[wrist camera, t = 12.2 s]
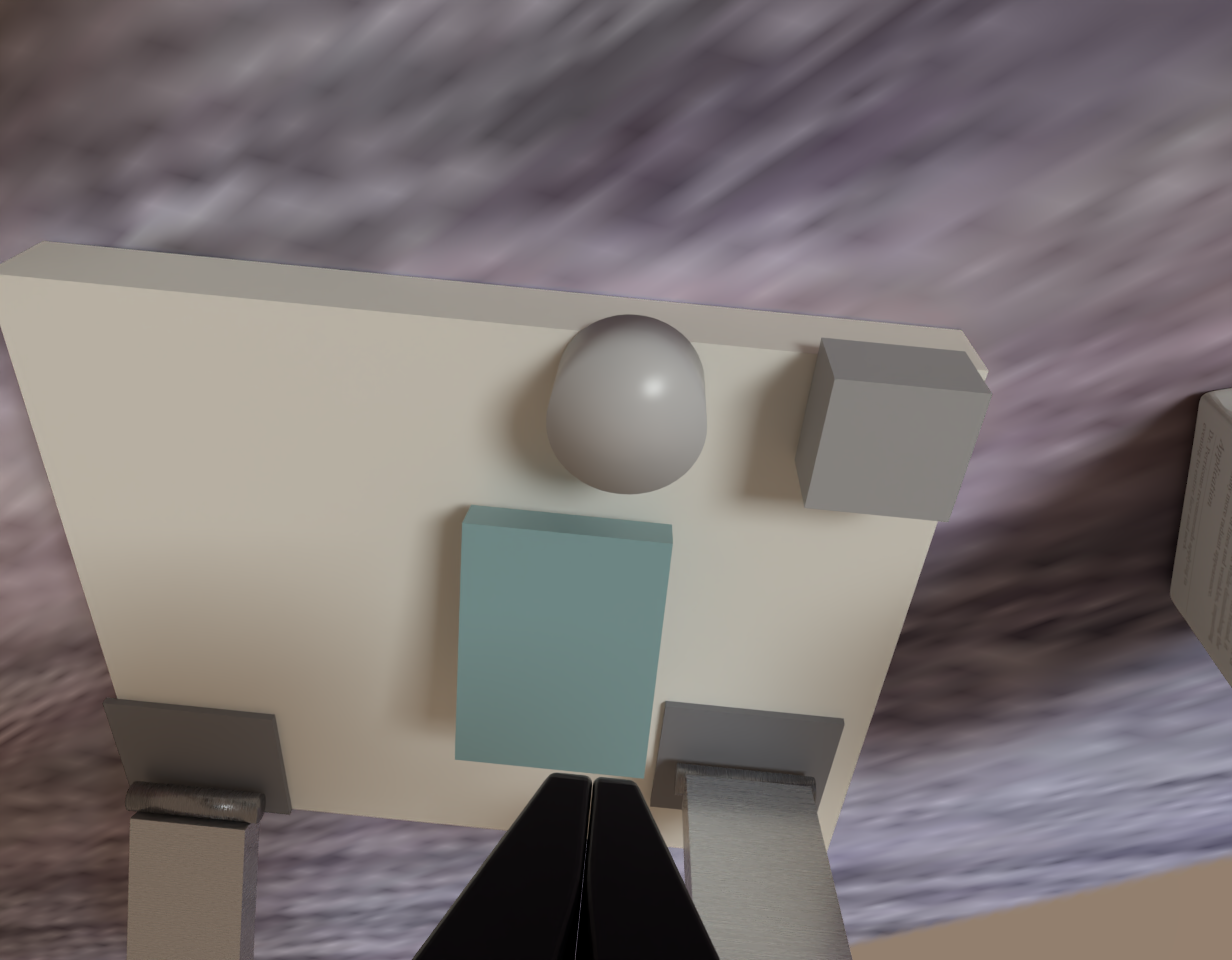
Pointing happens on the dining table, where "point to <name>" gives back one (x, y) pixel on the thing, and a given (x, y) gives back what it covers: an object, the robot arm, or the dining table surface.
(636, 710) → the pale teal flat block
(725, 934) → the grey black-tipped post
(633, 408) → the round button
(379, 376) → the panel
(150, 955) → the grey block with ball
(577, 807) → the robot arm
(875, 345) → the square button
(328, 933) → the dining table surface
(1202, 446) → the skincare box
